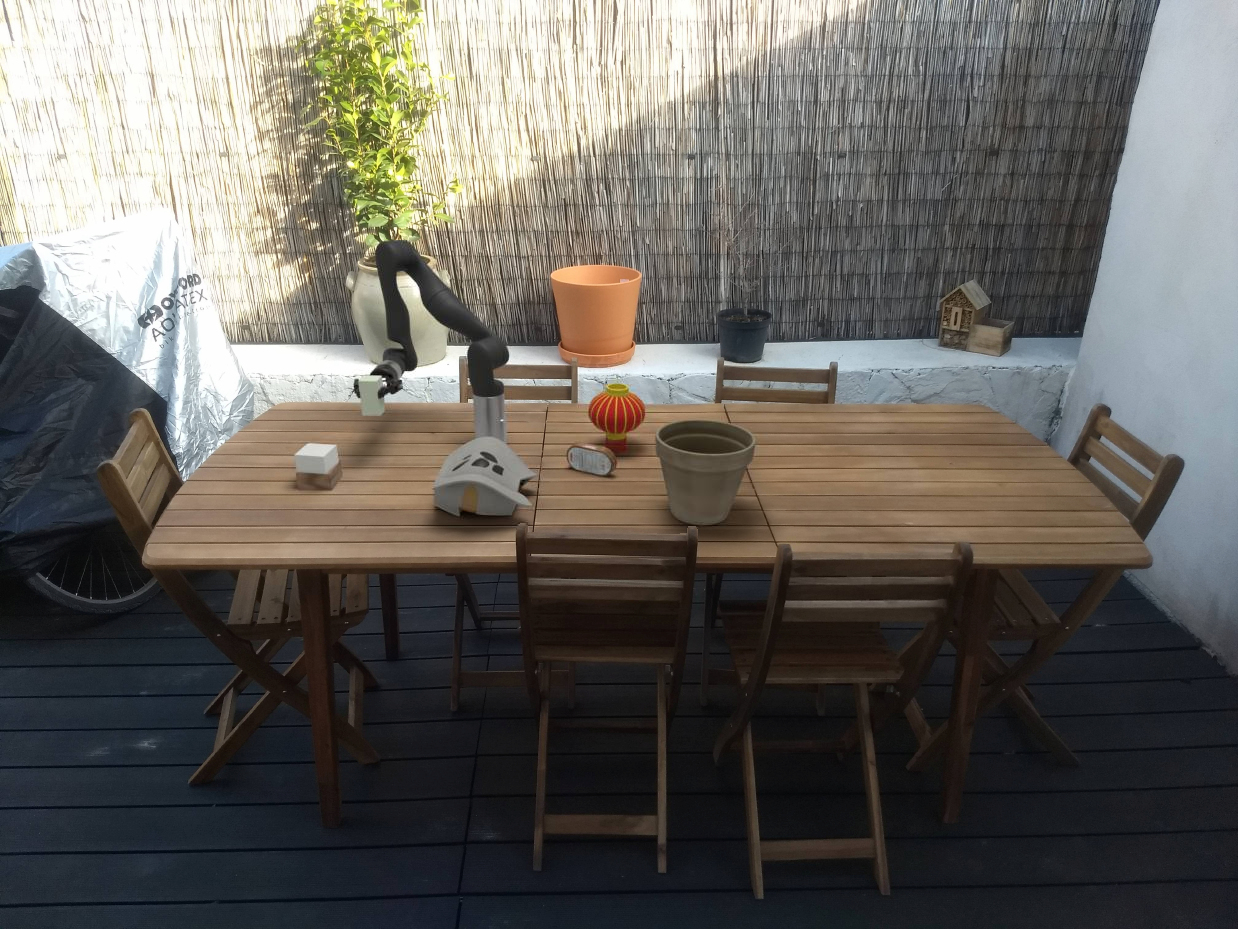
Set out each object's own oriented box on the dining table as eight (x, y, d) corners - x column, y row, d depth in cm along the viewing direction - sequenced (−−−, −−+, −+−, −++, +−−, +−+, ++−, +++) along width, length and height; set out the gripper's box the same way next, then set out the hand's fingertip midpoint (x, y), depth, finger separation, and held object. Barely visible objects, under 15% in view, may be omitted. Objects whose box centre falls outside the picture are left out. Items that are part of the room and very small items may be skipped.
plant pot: (694, 483, 223) (700, 410, 214) (767, 514, 207) (776, 436, 198) (631, 510, 207) (634, 433, 198) (705, 546, 191) (711, 464, 182)
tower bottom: (342, 476, 221) (340, 460, 219) (332, 491, 213) (329, 474, 211) (310, 476, 221) (307, 459, 219) (298, 490, 213) (295, 473, 211)
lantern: (578, 454, 239) (579, 357, 226) (601, 435, 253) (602, 343, 241) (631, 465, 233) (635, 366, 221) (651, 444, 248) (656, 350, 235)
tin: (617, 475, 226) (617, 448, 223) (612, 480, 224) (613, 452, 220) (570, 465, 232) (570, 438, 228) (564, 469, 229) (564, 442, 226)
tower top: (338, 461, 218) (336, 445, 216) (326, 474, 211) (323, 456, 209) (310, 460, 219) (308, 443, 217) (296, 472, 212) (294, 454, 210)
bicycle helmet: (443, 475, 219) (452, 424, 213) (534, 495, 222) (545, 445, 216) (420, 524, 194) (429, 467, 188) (523, 546, 196) (536, 490, 190)
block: (385, 409, 226) (381, 375, 222) (380, 415, 221) (376, 381, 217) (367, 409, 226) (363, 375, 222) (362, 415, 221) (358, 381, 217)
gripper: (359, 363, 233) (341, 381, 217) (409, 364, 233) (393, 382, 217) (362, 387, 236) (344, 407, 220) (411, 388, 236) (396, 408, 220)
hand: (369, 395), depth 219 cm, fingers closed on block, 5 cm apart
